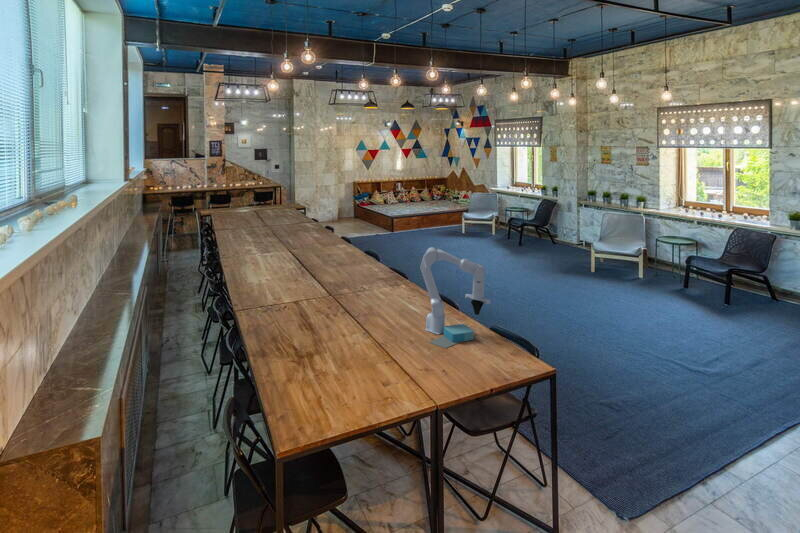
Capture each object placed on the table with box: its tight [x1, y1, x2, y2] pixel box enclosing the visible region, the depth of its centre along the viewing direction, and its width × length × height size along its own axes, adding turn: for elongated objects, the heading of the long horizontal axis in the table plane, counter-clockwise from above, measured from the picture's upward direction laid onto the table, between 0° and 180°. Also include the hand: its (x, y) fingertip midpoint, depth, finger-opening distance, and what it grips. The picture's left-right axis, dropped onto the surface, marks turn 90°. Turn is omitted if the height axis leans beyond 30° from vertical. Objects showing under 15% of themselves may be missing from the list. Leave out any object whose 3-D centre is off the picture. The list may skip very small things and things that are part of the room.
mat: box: [428, 334, 476, 349], centre depth 251 cm, size 11×24×1 cm, turn 136°
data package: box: [443, 323, 475, 343], centre depth 252 cm, size 12×4×12 cm
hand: (477, 314), depth 256 cm, fingers closed
